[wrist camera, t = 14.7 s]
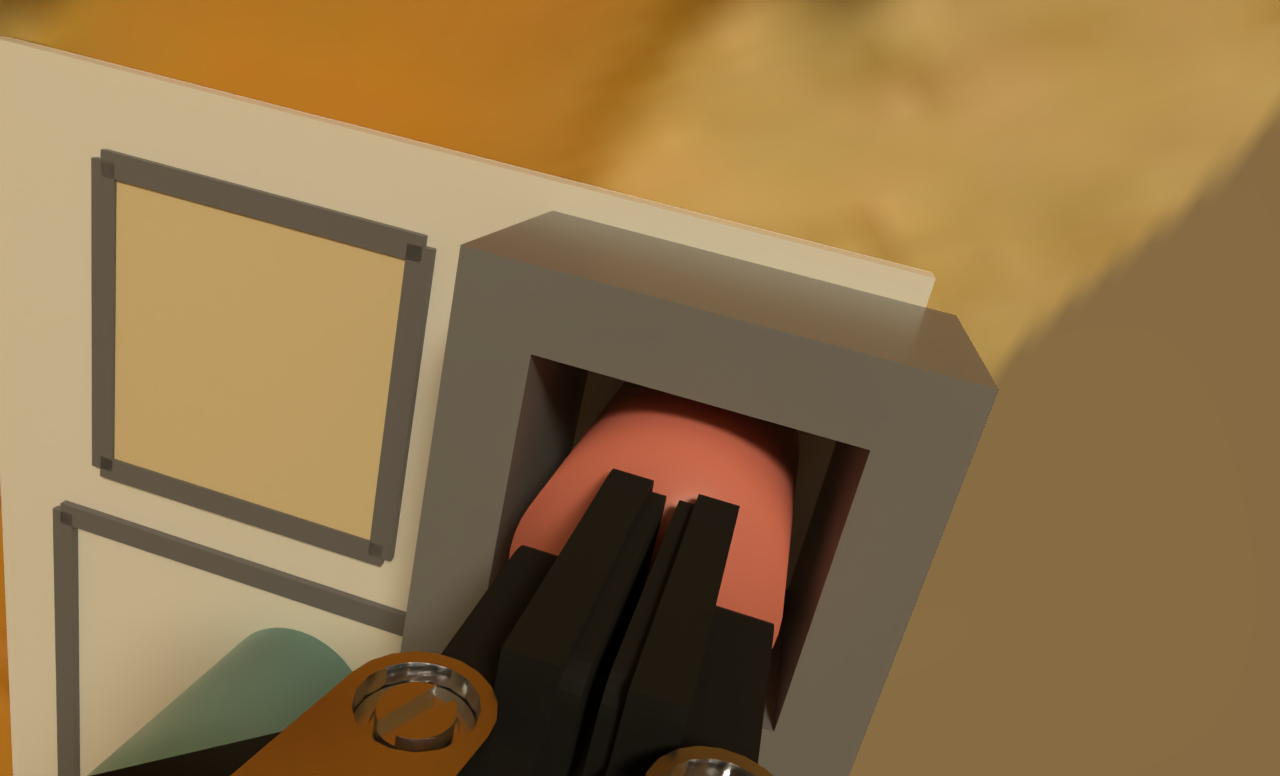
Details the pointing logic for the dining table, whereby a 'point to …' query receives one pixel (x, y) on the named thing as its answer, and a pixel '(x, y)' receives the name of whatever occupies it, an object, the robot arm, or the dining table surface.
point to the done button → (685, 485)
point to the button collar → (726, 378)
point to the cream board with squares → (244, 376)
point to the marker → (238, 698)
